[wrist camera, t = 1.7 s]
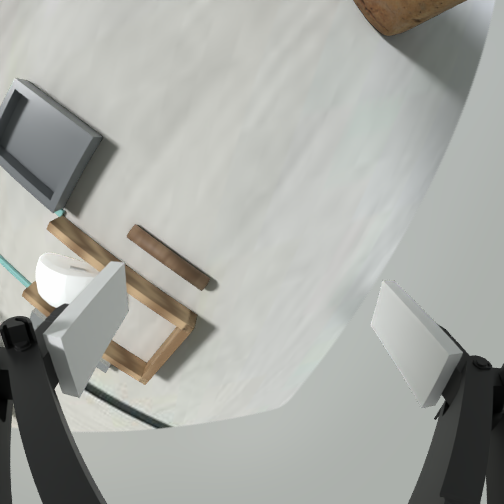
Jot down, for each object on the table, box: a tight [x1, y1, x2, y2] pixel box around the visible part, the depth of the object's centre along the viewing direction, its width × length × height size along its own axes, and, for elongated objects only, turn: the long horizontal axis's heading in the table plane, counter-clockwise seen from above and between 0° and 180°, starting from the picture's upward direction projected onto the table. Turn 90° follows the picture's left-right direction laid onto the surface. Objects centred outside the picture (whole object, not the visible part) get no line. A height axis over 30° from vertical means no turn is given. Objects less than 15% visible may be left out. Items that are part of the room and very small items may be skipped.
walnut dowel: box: [127, 224, 210, 291], centre depth 39 cm, size 12×2×2 cm
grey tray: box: [0, 78, 103, 213], centre depth 32 cm, size 17×11×3 cm, turn 51°
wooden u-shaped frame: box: [22, 215, 197, 385], centre depth 40 cm, size 24×14×4 cm, turn 51°
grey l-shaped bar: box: [30, 308, 111, 373], centre depth 44 cm, size 16×7×2 cm, turn 52°
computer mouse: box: [36, 252, 100, 308], centre depth 38 cm, size 6×13×6 cm, turn 75°
